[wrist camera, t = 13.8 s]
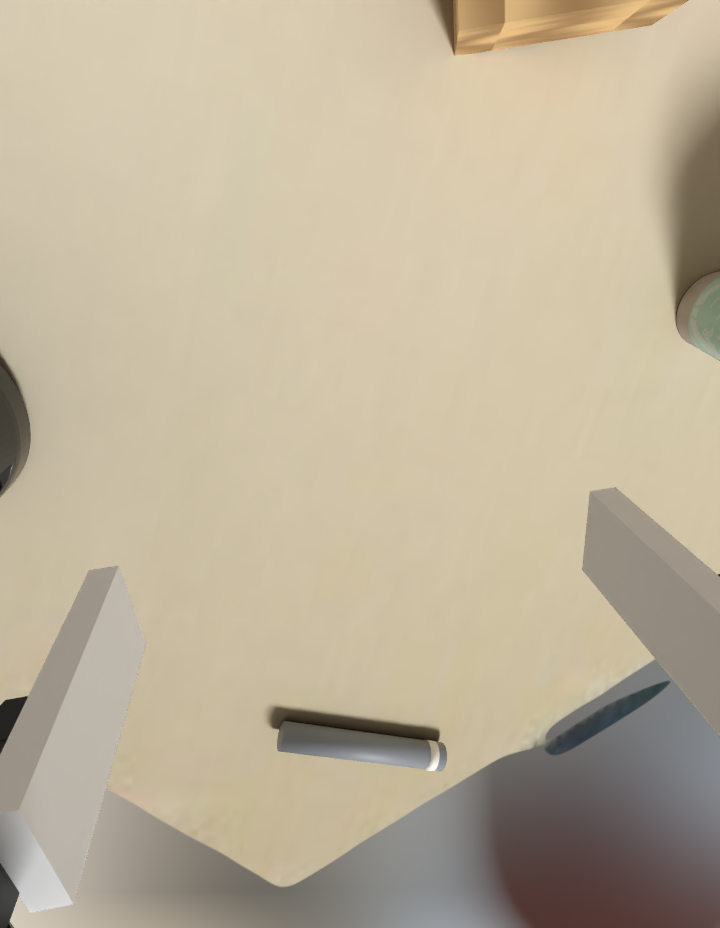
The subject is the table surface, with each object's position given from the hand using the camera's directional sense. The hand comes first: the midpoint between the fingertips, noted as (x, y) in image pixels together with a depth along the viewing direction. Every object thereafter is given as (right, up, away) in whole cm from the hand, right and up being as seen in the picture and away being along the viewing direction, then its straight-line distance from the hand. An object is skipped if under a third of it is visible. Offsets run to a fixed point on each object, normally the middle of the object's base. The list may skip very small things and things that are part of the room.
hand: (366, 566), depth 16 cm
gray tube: (-8, -25, +41) cm, 49 cm away
